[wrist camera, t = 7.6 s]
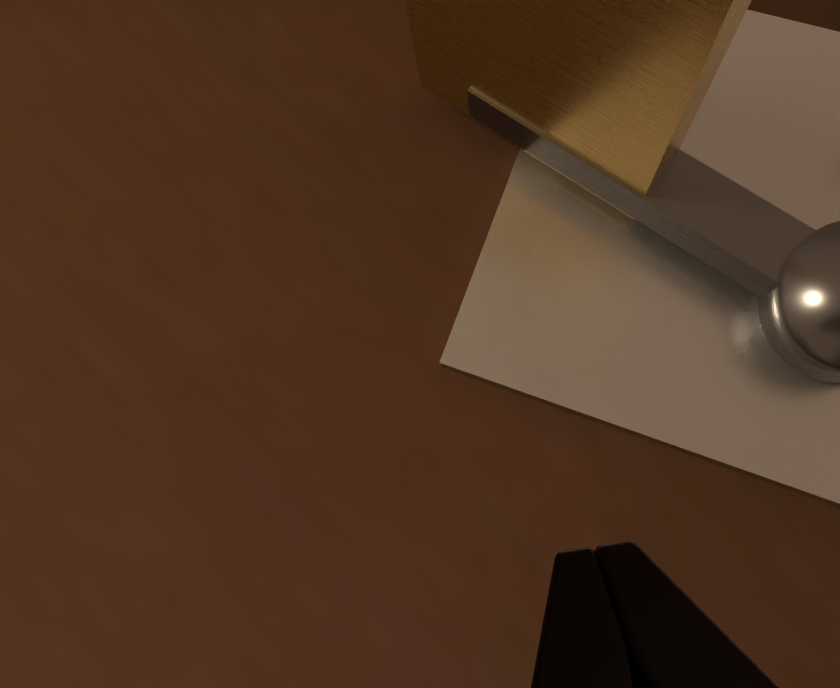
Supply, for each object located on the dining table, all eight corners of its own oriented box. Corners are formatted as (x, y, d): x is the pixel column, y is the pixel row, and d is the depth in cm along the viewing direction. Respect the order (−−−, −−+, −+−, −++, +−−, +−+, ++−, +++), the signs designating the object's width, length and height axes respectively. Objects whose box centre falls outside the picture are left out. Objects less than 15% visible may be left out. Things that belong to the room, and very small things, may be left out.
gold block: (937, 296, 20) (1412, 63, 10) (860, 411, 20) (1267, 300, 9) (473, 21, 24) (448, -370, 13) (398, 114, 23) (311, -214, 13)
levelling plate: (1030, 92, 22) (1106, 32, 20) (920, 535, 20) (988, 539, 17) (585, -17, 25) (595, -84, 22) (441, 366, 23) (432, 345, 20)
